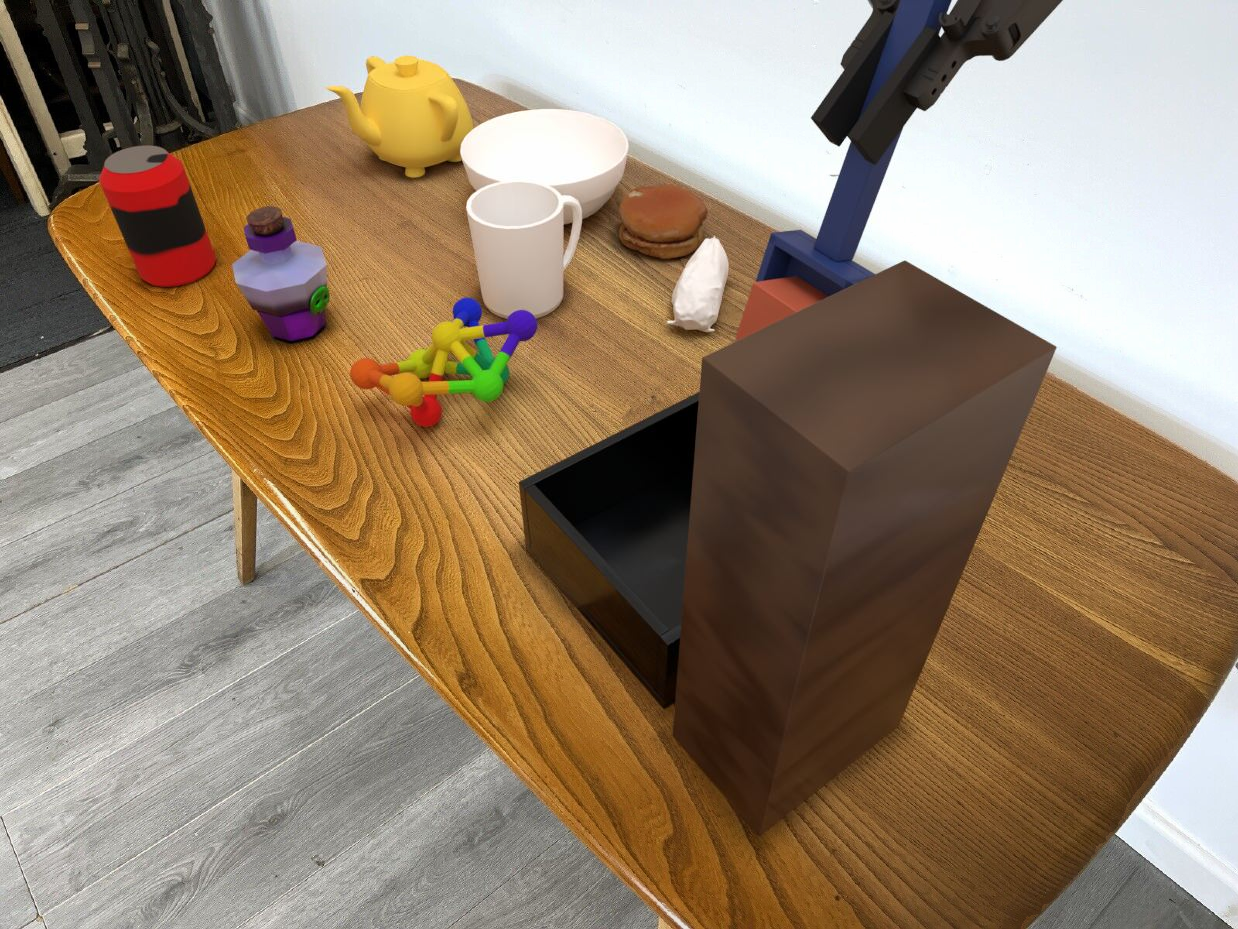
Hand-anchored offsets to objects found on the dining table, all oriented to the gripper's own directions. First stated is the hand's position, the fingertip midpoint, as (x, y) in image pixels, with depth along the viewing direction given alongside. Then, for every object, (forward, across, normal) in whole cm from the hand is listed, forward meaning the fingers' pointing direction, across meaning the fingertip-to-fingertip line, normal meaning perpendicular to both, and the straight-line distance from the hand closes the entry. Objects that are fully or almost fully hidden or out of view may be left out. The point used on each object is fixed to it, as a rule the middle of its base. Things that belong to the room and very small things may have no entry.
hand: (843, 140), depth 50 cm
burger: (+9, +37, -34) cm, 51 cm away
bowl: (+13, +50, -29) cm, 59 cm away
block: (+8, 0, -8) cm, 12 cm away
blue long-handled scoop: (+1, 0, -5) cm, 5 cm away
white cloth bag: (+13, +24, -30) cm, 40 cm away
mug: (+21, +36, -22) cm, 47 cm away
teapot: (+19, +69, -24) cm, 75 cm away
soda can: (+40, +62, -2) cm, 74 cm away
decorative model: (+31, +27, -12) cm, 43 cm away
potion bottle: (+36, +45, -7) cm, 58 cm away
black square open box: (+28, 0, -14) cm, 31 cm away
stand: (+30, -14, -12) cm, 35 cm away
